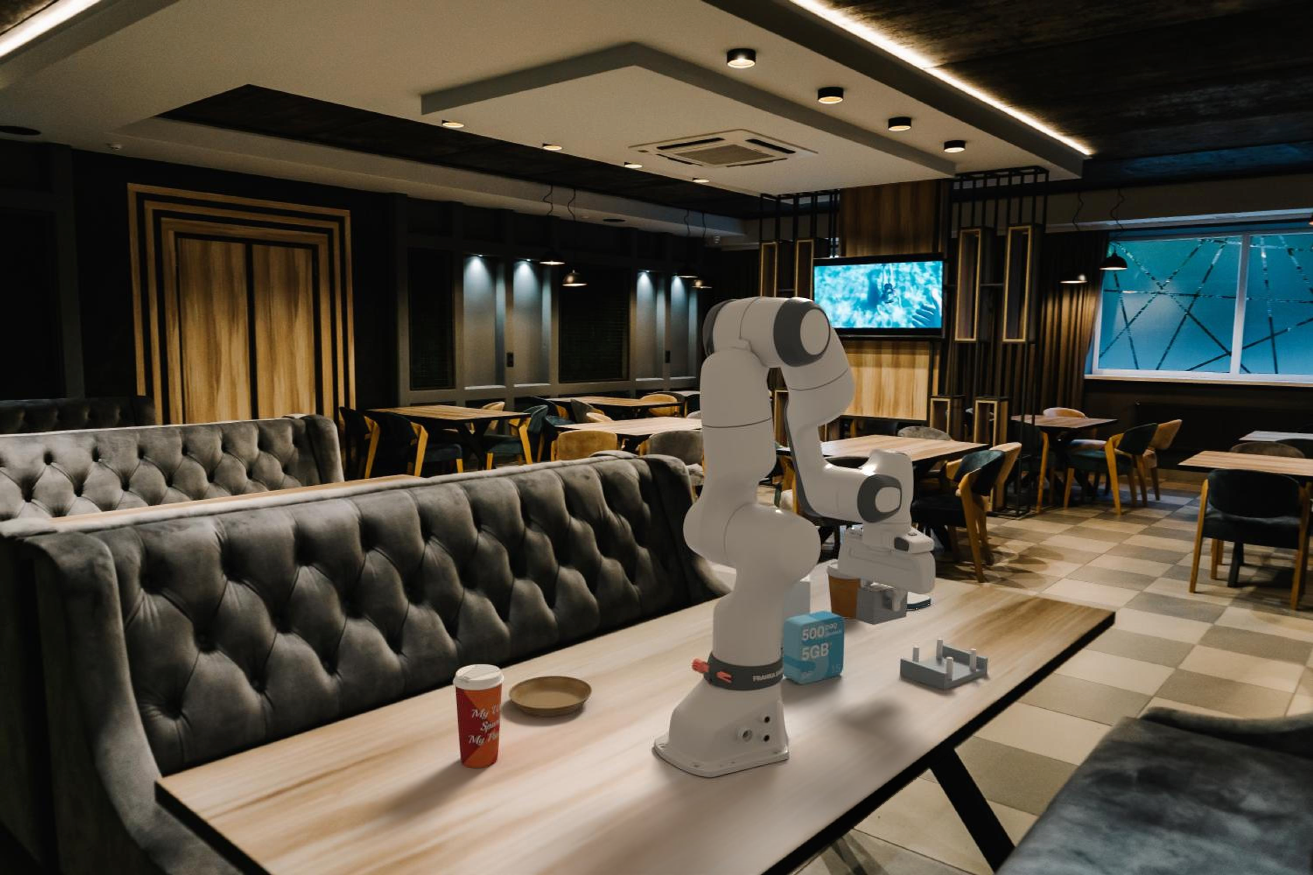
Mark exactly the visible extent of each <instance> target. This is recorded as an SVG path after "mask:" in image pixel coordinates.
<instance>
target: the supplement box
mask: <svg viewBox="0 0 1313 875" xmlns="http://www.w3.org/2000/svg"><path fill="white" fill-rule="evenodd" d="M811 587H812V586H811V572H810V573H809V574H808V575H807V576H806V577H805V578H803V579H801V580H800V581H799V582H798V583H797V584H796V585H795V586H794V587H793V589H792V590H791V592H790V594H789V596H788V598H787V601H786V604H785V607H784V612H783V620H782V633H781V649H783V640H784V624H785V622H786V620H787V619H788V618H791V617H796V616H801V615H806V614H811V597H812V596H811V594H812V593H811V589H812V588H811Z"/></svg>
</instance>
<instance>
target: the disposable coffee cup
mask: <svg viewBox="0 0 1313 875" xmlns="http://www.w3.org/2000/svg"><path fill="white" fill-rule="evenodd" d="M837 565H838V560H837V561H831V562H828V565H827V568H825V571H826V573H827V579H828V589H829V600H830V612H831V613H833V614H836V615H839V616H841V617H850V618H849V619H852V618H851V617H853V618H856V613H857V595H858V588H862V587H861V579H860V578H856V577H852V576H848V575H845V574H841V573H840V572H839V570H838V567H837Z"/></svg>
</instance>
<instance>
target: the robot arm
mask: <svg viewBox="0 0 1313 875" xmlns="http://www.w3.org/2000/svg"><path fill="white" fill-rule="evenodd" d="M702 343H703V348H704V353H705V356H706V359H705V360H704V361H703V363H702V365H701V371H700V381H699V383H700V384H699V409H700V410H699V411H700V423H701V431H702V442H703V451H704V464H705V465H704V466H705V467H704V468H705V470H704V480H703V486H702V490H701V492H700V495H699V497H698V499H697V501H695V502H694V503H693V504H692V505H691V506H690V508H689V509H688V511H687V512H686V514H685V516H684V517H685V518H684V522H683V528H682V529H683V530H682V531H683V537H684V541H685V543H686V545H687V546H688V548H690V550H692V551H693V552H694V553H696V554H698V555H699V556H701V557H702V558H703V559H705V560H707V561H709V562H711V563H714V564H717V565H719V566H723V567H724V566H725V567H728V568H732V569H733V570H735V574H736V577H735V583H734V586H733V590H732V591H731V592H730V593H727V594H726V595H724V596H722V597H721V598H720V599H719V600H717V602H716V603H715V605H714V608H713V611H712V649H711V651H710V652H709V655H708V658H707V661H704V660H702V659H701V658H695V659H693V660H692V662H691V665H690V666H691V669H692V671H694V672H698V673H699V674H700V675H701V674H702V676H703V678H701V680H700V681H699V682H698V683H697V684H696V685H695V686H694V687H693V688H692V690H690V692H689V693H688V694H687V695H686V696H685V697H684V698H683V699H682V700H681V701H680V702H679V703H678V704H677V705H676V706H675V707H674V708H673V710H672V713H671V716H670V721H669V727H668V728H669V729H668V732H667V733H664V734H663V735H660V736H659V737H657V738H655V739H654V742H653V747H654V750H655V752H656V753H657V754H658V755H659V757H661V758H662V759H663V760H664V761H666V762H668V763H669V764H671V765H673V766H674V767H676V768H679V769H680V770H682V771H685V772H686V773H687V772H688V773H689V774H693V775H696V776H701V777H705V778H713V777H718V776H722V775H725V774H730V773H735V772H739V771H743V770H747V769H752V768H756V767H759V766H763V765H767V764H773V763H775V762H781V761H785V760H787V759H789V758H790V752H789V747H788V744H789V741H790V740H789V737H788V733H787V728H786V723H785V712H784V703H783V695H782V687H781V681H782V680H783V679H784V674H783V670H784V666H783V653H781V652H782V648H781V633H782V620H783V612H784V607H785V604H786V601H787V598H788V596H789V594H790V592H791V590H792V589H793V587H794V586H795V585H796V584H797V583H798V582H799V581H800V580H801V579H803V578H805V577H806V576H807V575H808V574H809V573H810V574H811V573H812V571H813V570H814V569H815V567H816V565H817V564H818V561H819V558H820V556H821V548H822V547H821V546H822V544H821V543H822V542H821V537H820V534H819V531H818V529H817V527H816V525H815V524H814V523H813V522H811V521H810V520H808V519H806V518H805V517H803V516H801V515H799V514H797V513H795V512H793V511H790V510H788V509H784V508H779V507H774V506H769V505H764V504H760V503H759V501H758V490H759V489H758V488H759V484H760V481H761V480H763V479H764V478H766V477H767V476H769V474H770V473H771V472H772V471H773V470H774V468H775V465H776V463H777V451H776V441H775V431H774V422H773V412H772V411H773V410H772V403H771V402H772V401H771V397H770V392H769V388H768V382H767V380H768V375H769V371H770V368H772V369H773V368H780V370H781V373H782V376H783V379H784V383H785V385H786V388H787V392H788V399H787V400H786V402H785V404H784V408H783V421H784V427H785V433H786V434H785V435H786V438H787V441H788V442H787V443H788V447H789V451H790V456H791V460H792V465H793V470H794V476H795V494H796V499H797V501H798V502H797V503H799V505H800V507H801V509H802V510H803V512H805V514H807V515H809V516H811V517H820V518H832V519H836V520H841V521H847V522H855V523H861V524H862V529H857V528H854V527H848V528H847V529H845V530H844V531H843V532H842V534H841V544H840V548H839V552H838V558H837V561H838V565H837V567H838V570H839V572H840V573H841V574H845V575H848V576H852V577H856V578H860V579H861V587H867V586H871V584H873V582H875V583H878V584H882V585H886V586H890V587H893V588H894V592H893V593H895V594H896V595H895V597H894V599H893V600H889V601H888V605H889V606H888V609H889V610H892V611H899V610H900V601H902V599H903V598H904V596H905V595H906V592H907V591H908V592H912V593H916V594H920V595H921V594H924V595H927V594H930V593H931V592H932V591H933V590H934V588H935V585H936V560H935V557H934V555H933V554H932V552H931V551H933V550H934V548H935V541H934V539H932V538H931V537H929V536H928V535H926V534H924V533H923V532H921V531H919V530H918V529H916V528H915V527H913V526H912V516H911V512H910V510H911V504H912V501H913V499H914V498H913V497H914V469H913V461H912V459H911V456H909V455H908V454H906V453H905V452H902V451H897V450H896V451H895V450H890V449H884V448H883V449H882V448H875V449H872V450H870V453H869V455H868V460H867V461H866V462H865V463H864V464H862V465H861V466H858V467H857V468H850V467H844V466H837V465H834V464H833V463H831V462H829V461H827V460H826V459H825V457H824V453H823V448H822V443H821V438H820V433H819V428H818V427H820V426H824V425H826V424H829V423H831V422H832V421H834V420H836V419H837V418H839V417H840V416H841V415H843V414H844V413H845V412H846V410H848V408H849V407H850V405H851V404H852V402H853V400H854V397H855V395H856V394H855V393H856V385H855V384H856V383H855V377H854V374H853V372H852V369H851V365H850V363H849V360H848V356H847V354H846V351H845V349H844V346H843V345H842V342H841V340H840V338H839V336H838V334H837V332H836V330H835V328H834V327H833V325H832V324H831V322H830V320H829V318H828V315H827V313H826V312H825V310H824V308H823V307H822V306H821V305H820V304H819V303H818V302H816V301H815V300H811V299H808V298H804V297H799V296H798V297H795V296H793V297H791V298H787V297H770V296H769V297H768V296H753V297H747V298H741V299H727V300H725V301H722V302H719V303H718V304H716V305H714V306H712V307H711V308H710V310H709V311H708V313H707V314H706V317H705V319H704V323H703V327H702Z"/></svg>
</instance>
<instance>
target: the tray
mask: <svg viewBox="0 0 1313 875" xmlns="http://www.w3.org/2000/svg"><path fill="white" fill-rule="evenodd" d="M969 650H970V651H967V650H964V649H961V648H958V647H955V646H951V645H949V644H945V643H944V639H943V638H936V653H935V656H932V657H930V658H926V659H923V660H921V661H920V647H919V646H917V645H913V646H912V659H909V658H906V657H901V658H900V661H899V663H900V664H899V665H900V666H899V675H901V676H904V677H906V678H908V679H911V680H914V681H917V682H920V683H923V684H926V685H928V686H931V687H934V688H937V689H939V690H943V691H945V690H948V689H949V690H950V689H951V688H953V687H956V686H958V685H961V684H963V683H966V682H969V681H971V680H974V679H976V678H980V677H982V676H984V675H986V674H988V667H989V666H988V664H989V662H988V661H989V657H986V656H983V655H981V654H977V653H978V649H976V648H970V649H969Z"/></svg>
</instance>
